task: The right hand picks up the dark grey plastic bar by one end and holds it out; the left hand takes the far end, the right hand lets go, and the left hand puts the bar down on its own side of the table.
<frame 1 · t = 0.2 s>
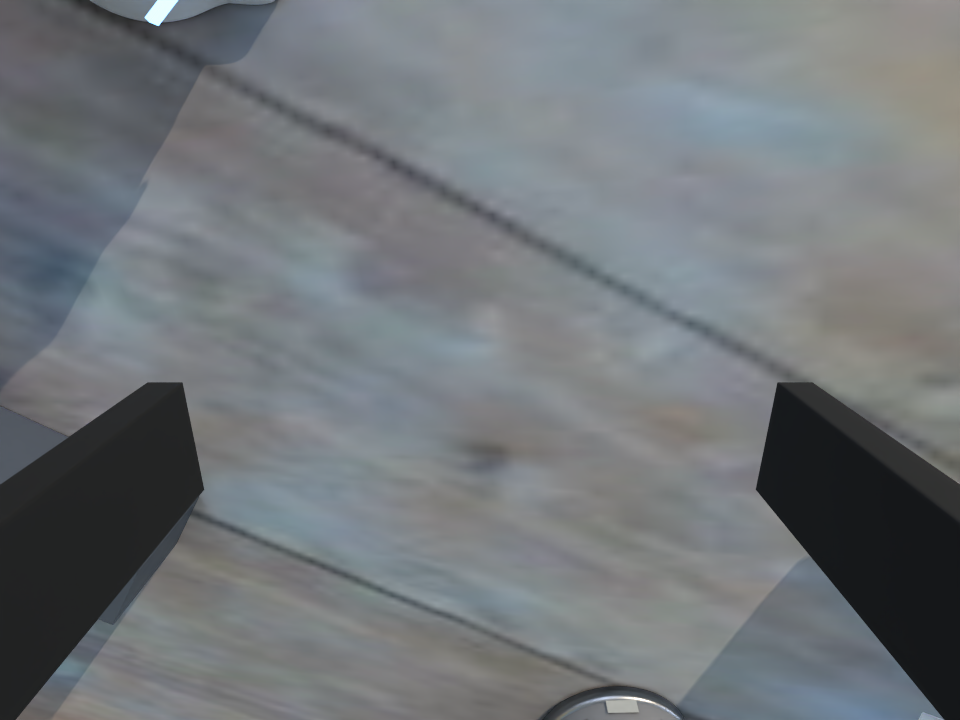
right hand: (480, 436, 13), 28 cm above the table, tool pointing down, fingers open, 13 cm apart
bar: (34, 452, 44), on the table
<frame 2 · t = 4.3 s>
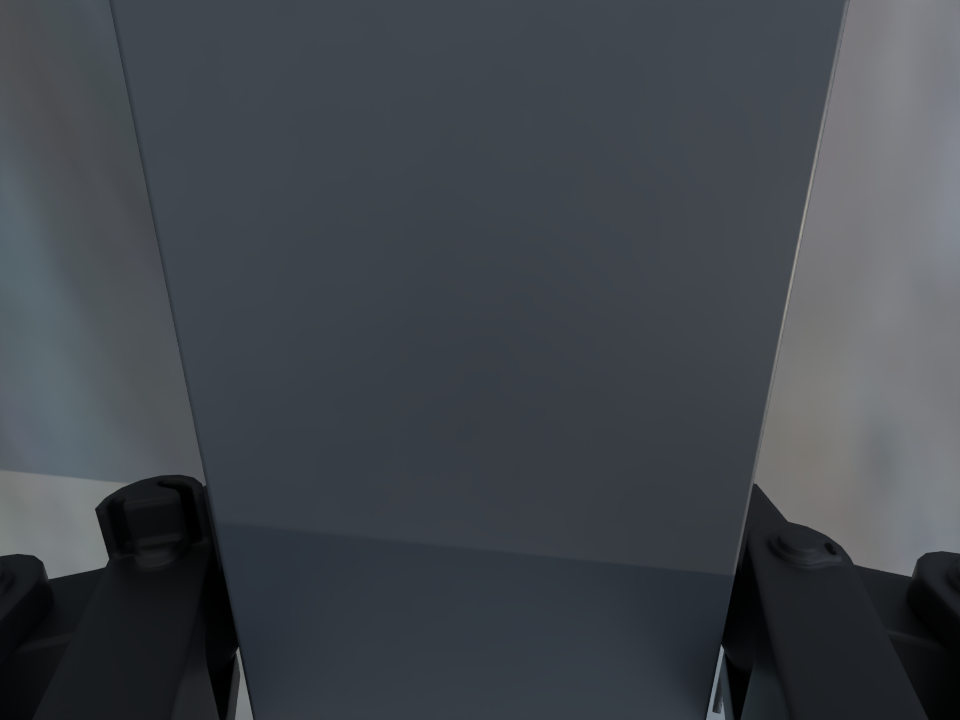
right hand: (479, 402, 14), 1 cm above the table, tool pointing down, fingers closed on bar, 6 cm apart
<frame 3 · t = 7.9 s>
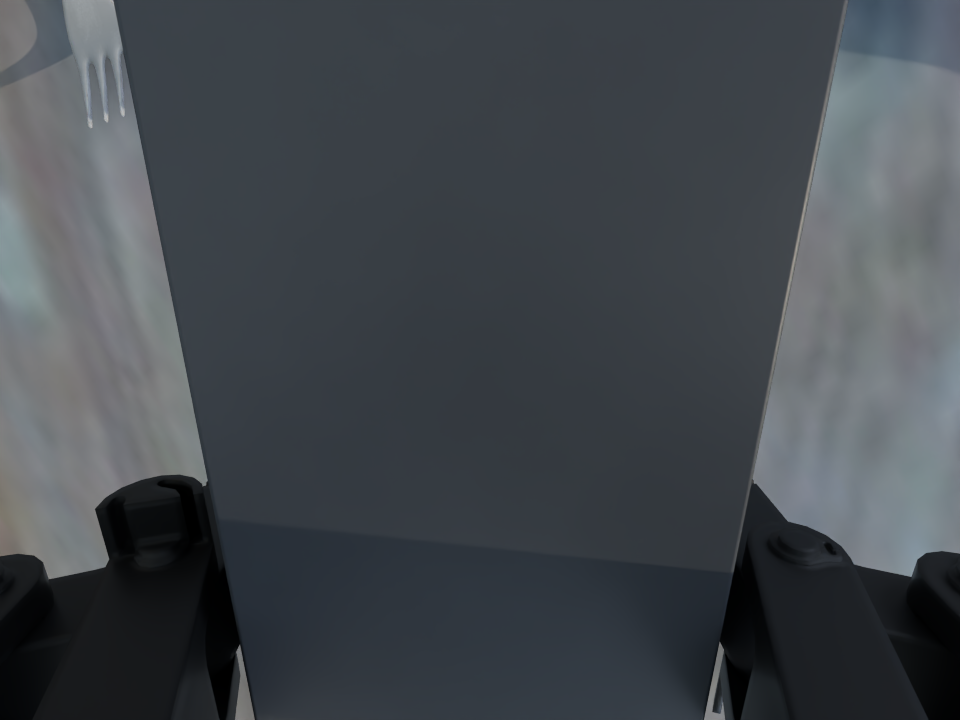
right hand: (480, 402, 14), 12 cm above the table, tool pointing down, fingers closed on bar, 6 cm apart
when the right hand's fingers open (12 cm above the table, at t = 8.8 s): bar stays where it is, held by the left hand.
when the left hand's fingers open (4 cm above the table, at t = 13.5 s): bar stays where it is, on the table.
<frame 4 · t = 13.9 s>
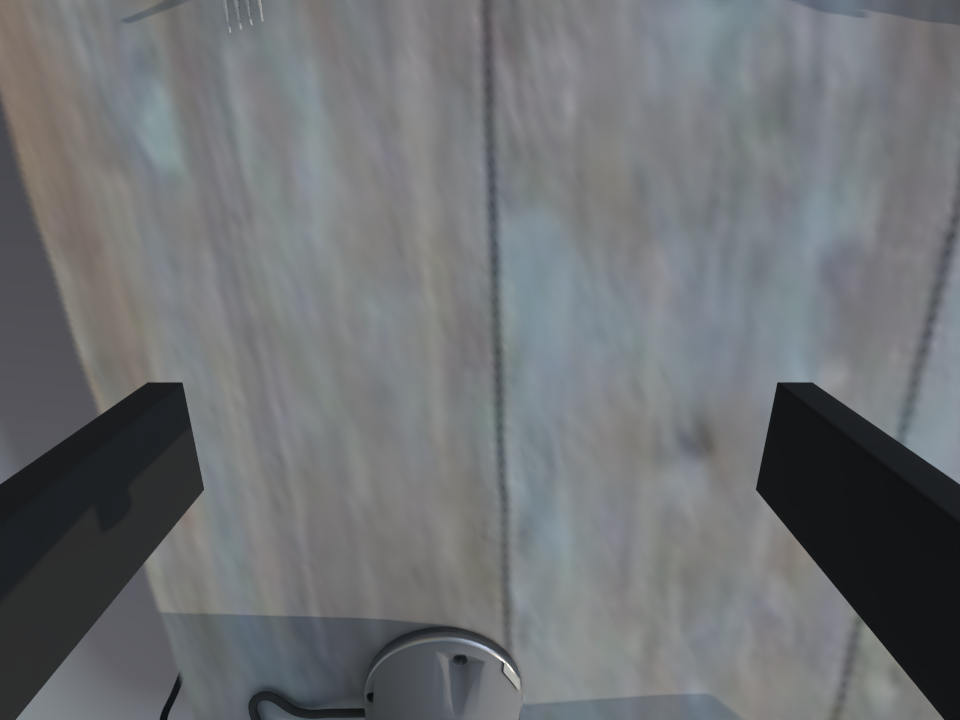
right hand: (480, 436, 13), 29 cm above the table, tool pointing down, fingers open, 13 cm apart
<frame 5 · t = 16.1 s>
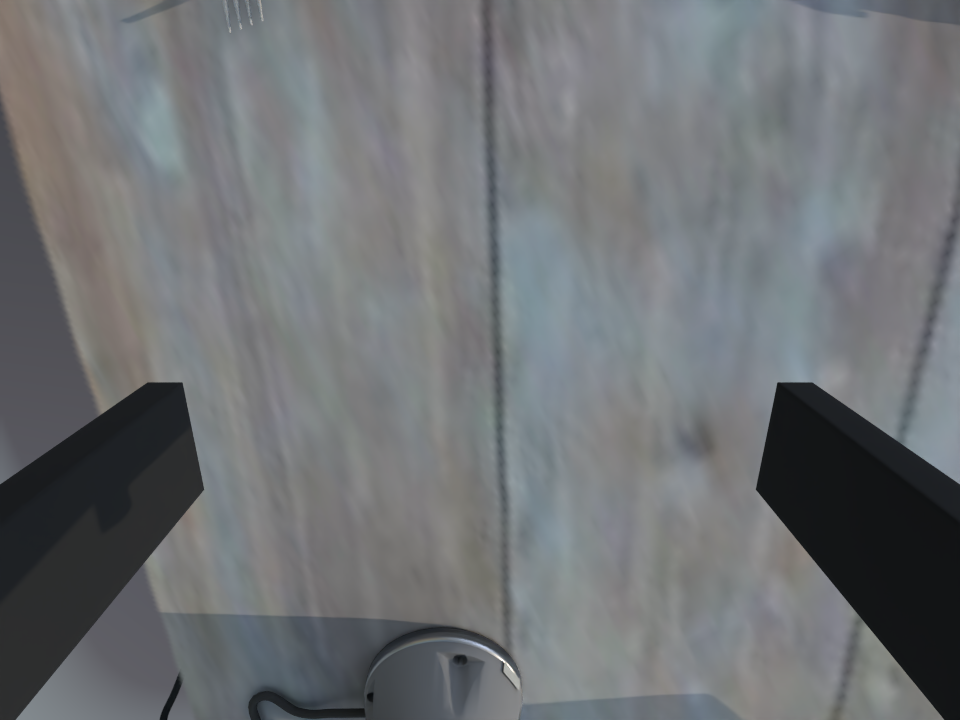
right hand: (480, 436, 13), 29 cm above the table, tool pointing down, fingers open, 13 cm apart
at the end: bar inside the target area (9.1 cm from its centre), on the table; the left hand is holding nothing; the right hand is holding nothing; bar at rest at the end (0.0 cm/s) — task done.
